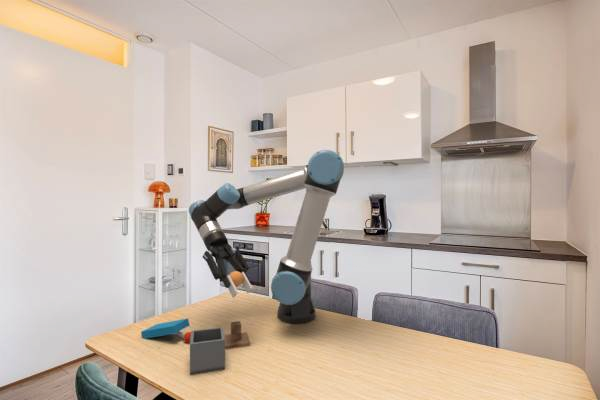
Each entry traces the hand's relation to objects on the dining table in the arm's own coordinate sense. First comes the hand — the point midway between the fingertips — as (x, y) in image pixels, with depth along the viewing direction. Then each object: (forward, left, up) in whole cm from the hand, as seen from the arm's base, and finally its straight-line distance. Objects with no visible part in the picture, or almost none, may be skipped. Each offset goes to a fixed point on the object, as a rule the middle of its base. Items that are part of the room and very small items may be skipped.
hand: (242, 292), depth 98 cm
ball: (+2, -3, +4) cm, 5 cm away
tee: (+2, -3, -17) cm, 17 cm away
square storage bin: (+11, +8, -17) cm, 21 cm away
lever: (+22, -13, -17) cm, 31 cm away
